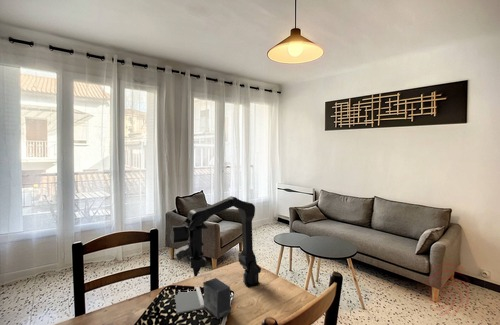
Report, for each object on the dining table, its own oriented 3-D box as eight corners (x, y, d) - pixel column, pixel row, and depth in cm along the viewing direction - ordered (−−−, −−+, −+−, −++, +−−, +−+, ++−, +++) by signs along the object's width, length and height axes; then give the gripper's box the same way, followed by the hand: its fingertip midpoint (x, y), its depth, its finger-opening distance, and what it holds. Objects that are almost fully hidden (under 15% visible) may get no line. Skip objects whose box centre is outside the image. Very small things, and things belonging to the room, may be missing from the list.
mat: (199, 289, 120) (199, 286, 120) (204, 308, 105) (204, 304, 105) (174, 293, 116) (174, 290, 116) (176, 313, 101) (176, 310, 101)
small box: (231, 312, 101) (231, 286, 101) (217, 320, 97) (216, 292, 97) (217, 301, 109) (216, 276, 109) (203, 307, 105) (202, 282, 105)
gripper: (174, 235, 117) (174, 269, 117) (177, 248, 100) (177, 289, 100) (199, 233, 121) (199, 266, 121) (206, 245, 103) (206, 284, 104)
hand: (195, 276), depth 111 cm, fingers closed
